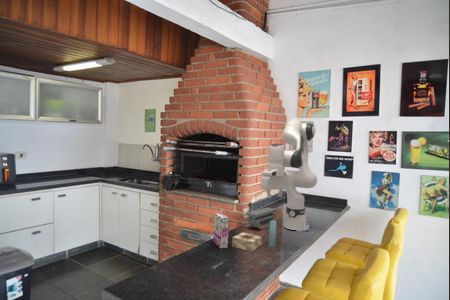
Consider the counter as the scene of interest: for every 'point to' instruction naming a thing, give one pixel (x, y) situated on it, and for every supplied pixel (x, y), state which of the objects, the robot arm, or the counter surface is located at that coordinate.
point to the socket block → (246, 241)
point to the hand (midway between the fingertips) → (274, 197)
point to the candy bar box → (221, 230)
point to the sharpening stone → (261, 217)
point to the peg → (272, 233)
